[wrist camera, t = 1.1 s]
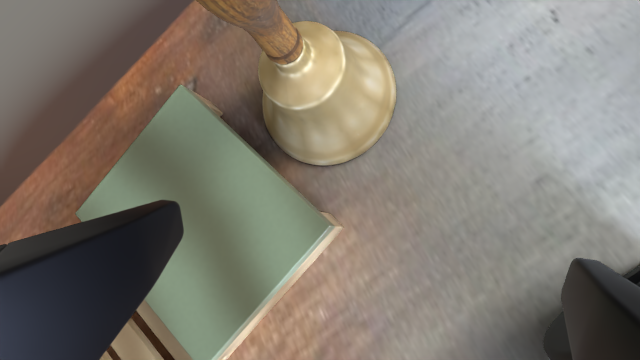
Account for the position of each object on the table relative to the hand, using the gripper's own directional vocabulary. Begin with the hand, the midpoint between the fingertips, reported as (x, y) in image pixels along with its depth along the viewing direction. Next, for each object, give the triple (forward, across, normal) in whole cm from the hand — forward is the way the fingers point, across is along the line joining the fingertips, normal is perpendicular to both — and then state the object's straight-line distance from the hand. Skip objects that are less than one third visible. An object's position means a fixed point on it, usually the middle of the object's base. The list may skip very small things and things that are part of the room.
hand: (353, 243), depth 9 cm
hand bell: (+16, +4, +1) cm, 16 cm away
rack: (+10, +13, +11) cm, 20 cm away
